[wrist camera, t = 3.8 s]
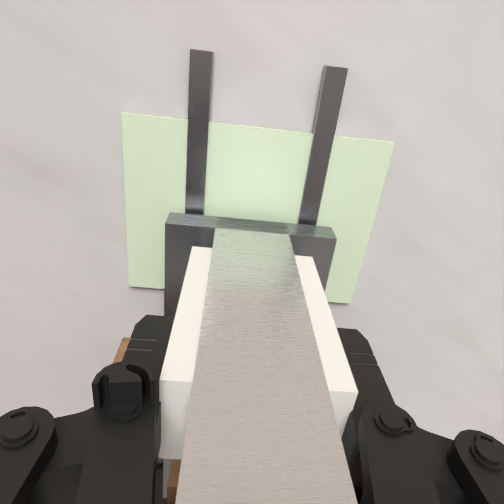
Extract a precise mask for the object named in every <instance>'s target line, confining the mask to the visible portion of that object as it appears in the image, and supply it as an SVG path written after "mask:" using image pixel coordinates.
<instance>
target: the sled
mask: <svg viewBox="0 0 504 504" xmlns="http://www.w3.org/2000/svg"><path fill="white" fill-rule="evenodd" d="M336 242H337V238H336V236H335V234H334V232H333V230H332V228H331V227H326V226H315V225H304V224H293V223H282V222H272V221H261V220H250V219H239V218H228V217H218V216H207V215H196V214H185V213H174V212H170V213H169V215H168V218H167V220H166V222H165V293H164V316H169V317H175V314H176V310H177V306H178V302H179V298H180V294H181V290H182V286H183V282H184V278H185V274H186V270H187V266H188V262H189V258H190V254H191V250H192V246H195V247H206V248H212V254H211V261H210V268H209V275H208V282H207V288H206V295H205V302H204V309H203V316H202V323H201V330H200V336H199V343H198V350H197V357H196V364H195V371H194V378H193V385H192V391H191V398H190V405H189V412H188V419H187V426H186V433H185V439H184V446H183V453H182V460H181V467H180V474H179V481H178V488H177V494H176V501H175V504H358V503H357V499H356V495H355V491H354V487H353V483H352V480H351V476H350V472H349V468H348V464H347V460H346V456H345V452H344V448H343V444H342V440H341V436H340V432H339V429H338V425H337V421H336V417H335V413H334V409H333V405H332V401H331V397H330V393H329V389H328V385H327V381H326V378H325V374H324V370H323V366H322V362H321V358H320V354H319V350H318V346H317V342H316V338H315V334H314V330H313V327H312V323H311V319H310V315H309V311H308V307H307V303H306V299H305V295H304V291H303V287H302V283H301V279H300V275H299V272H298V268H297V264H296V260H295V256H294V255H298V256H309V257H313V260H314V263H315V266H316V269H317V272H318V275H319V278H320V281H321V284H322V287H323V290H324V293H325V289H326V284H327V280H328V276H329V271H330V267H331V263H332V259H333V254H334V250H335V246H336ZM171 460H172V459H163V498H167V484H168V478H169V472H170V466H171Z"/></svg>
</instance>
